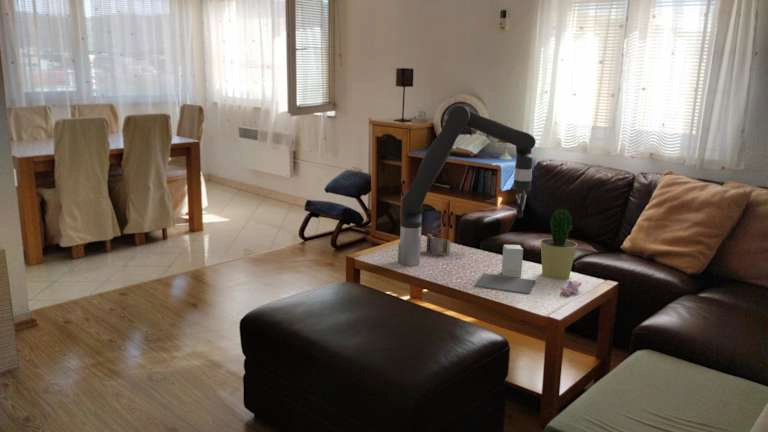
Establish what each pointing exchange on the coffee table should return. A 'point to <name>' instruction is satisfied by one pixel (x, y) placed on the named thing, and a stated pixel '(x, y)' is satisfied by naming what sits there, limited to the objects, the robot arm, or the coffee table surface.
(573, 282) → the pink unicorn figurine
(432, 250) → the grey upright block
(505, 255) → the supplement box
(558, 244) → the potted cactus
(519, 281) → the mat
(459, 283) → the coffee table surface
